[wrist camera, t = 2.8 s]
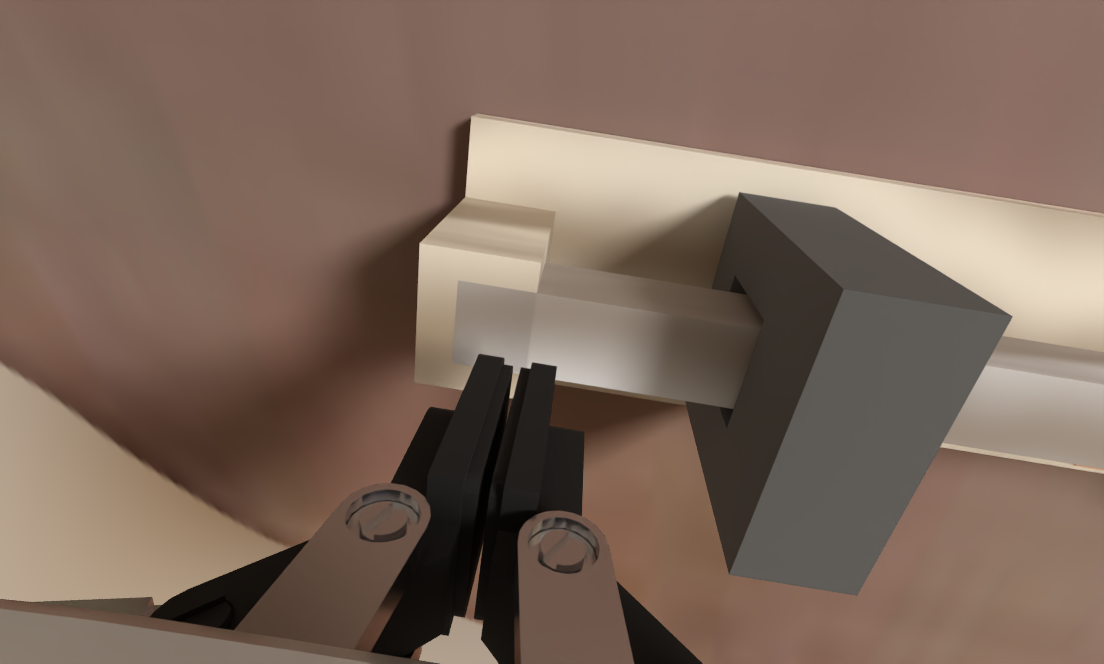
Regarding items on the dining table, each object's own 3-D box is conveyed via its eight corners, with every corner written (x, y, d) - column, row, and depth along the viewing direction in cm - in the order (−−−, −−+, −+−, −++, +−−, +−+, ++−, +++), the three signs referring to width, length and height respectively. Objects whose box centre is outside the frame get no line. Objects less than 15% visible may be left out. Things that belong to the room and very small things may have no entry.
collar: (739, 192, 17) (843, 289, 10) (835, 207, 17) (1013, 316, 10) (682, 389, 20) (728, 574, 13) (763, 402, 20) (857, 595, 13)
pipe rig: (477, 113, 18) (422, 137, 12) (1525, 281, 18) (1958, 383, 12) (458, 355, 22) (410, 457, 16) (1317, 494, 22) (1570, 647, 16)
